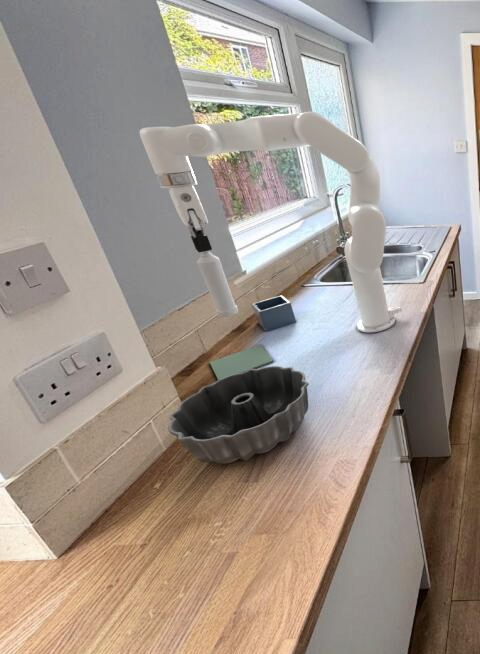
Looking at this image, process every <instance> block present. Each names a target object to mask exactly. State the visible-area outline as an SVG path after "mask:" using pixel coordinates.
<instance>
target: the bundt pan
mask: <svg viewBox="0 0 480 654" xmlns="http://www.w3.org/2000/svg"><path fill="white" fill-rule="evenodd" d="M309 385H310V384H309V382H308V381H307V380H306V374H305V373H304V372H303V371H301V370H295V369H294V367H293V366H289V367H283V366H278V365H272V366H265V367H264V366H263V367H259V368H256V369H249V370H247V371H245V372H243V373H237V374H233V375H230V376H227V377H224V378H222V379H220V380H218V379H217V380H216V381H215V382H213V383H211V384H208V385H205V386H202V387H201V388H200V389H199V390H198V392H196V393H193V394H191V395H190V396H188V397H186V398H185V399H184V400H183V401H182V402H180V404H179V405H178V407H177V410H176V411H174V412H172V414H170V415H168V418H169V420H170V423H168V426H167V430H168V432H169V433H170V434H171V435H172V436H175V437H176V438H177V439H178V441H179V442H180V443H181V444H182V446H184V448H185V449H186V450H187V451H188V452H189V453H190V454H192V455H193V456H194V457H195V459H196V460H198V461H199V462H203V463H212V462H213V463H217V464H229V463H233V462H235V461H237V460H239V459H240V460H242V461H249V460H250V459H251V458H253V456H255V455H256V454H264V453H267V452H269V451H271V450H272V449H274V448H275V447H276V446H277V445H278V443H280V442H286V441H289V439H290V437H291V435H292V433H293V432H295V431H296V430H298V429H299V428H300V427H301V425H302V423H303V421H304V419H305V415H306V414H307V412H308V410H309V395H308V386H309Z"/></svg>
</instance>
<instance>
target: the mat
mask: <svg viewBox="0 0 480 654" xmlns="http://www.w3.org/2000/svg"><path fill="white" fill-rule="evenodd" d="M272 363H274V360H273V358H272V357H271V356H270V355H269V353H268V352H267V351H266V350H265V348H264V347H263V346H262V344H258V345H255V346H252V347H250V348H246V349H243V350H241V351H238V352H235V353H232V354H229V355H226V356H224V357H220V358H217V359H214V360H212V361H209V365H210V366H211V368H212V371H213V372H214V374H215V375H214V376H216V378H217V381H218V380H220V379H222V378H224V377H227V376H230V375H233V374H237V373H243V372H245V371H247V370H249V369H259V368H262V367H264V366H266V365H268V364H272Z"/></svg>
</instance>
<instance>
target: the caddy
mask: <svg viewBox="0 0 480 654" xmlns="http://www.w3.org/2000/svg"><path fill="white" fill-rule="evenodd" d="M251 307H252V309H253V312H254V316H255V318H256V321H257V323H258V325H260V327H261V328H262V329H263V330H264V331H265V332H269V331H271V330H275V329H279V328H281V327H284V326H286V325H289V324H293V323H296V322H297V320H296V315H295V313H294V310H293V306H292V303H291V301H290V300H288V298H286V297H285V296H283V295H277V296H273V297H269V298H267V299H264V300H260V301H257V302H254V303H251Z"/></svg>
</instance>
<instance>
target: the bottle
mask: <svg viewBox="0 0 480 654" xmlns="http://www.w3.org/2000/svg"><path fill="white" fill-rule="evenodd" d="M199 256H200V257H199V259H198V260H197V261H196V264H197V266H198V269H199V271H200V274H201V275H202V277H203V280H204V283H205V285H206V287H207V290H208V293H209V295H210V297H211V299H212V302H213V305H214V307H215V309H216V311H215V312H216V314H217V316H218V317H219V318H223V319H224V318H230V317H232V316H235V315H237V314H238V313H239V307H238V306H237V304H236V303H235V300H234V298H233V295H232V291H231V289H230V286H229V282H228V280H227V276H226V274H225V272H224V268H223V265H222V261H221V260H220V258H219V257H218V256H217V255H214V254H212V252H211V251H210V250H209V251H204V252H200V255H199Z"/></svg>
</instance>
